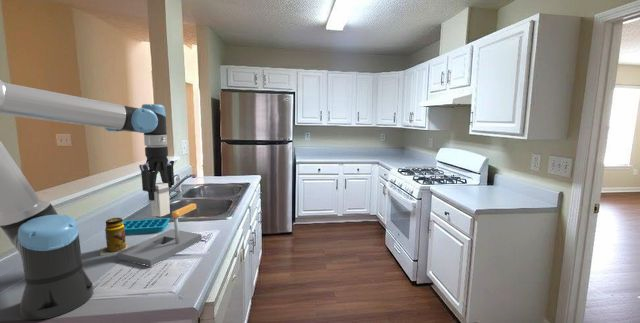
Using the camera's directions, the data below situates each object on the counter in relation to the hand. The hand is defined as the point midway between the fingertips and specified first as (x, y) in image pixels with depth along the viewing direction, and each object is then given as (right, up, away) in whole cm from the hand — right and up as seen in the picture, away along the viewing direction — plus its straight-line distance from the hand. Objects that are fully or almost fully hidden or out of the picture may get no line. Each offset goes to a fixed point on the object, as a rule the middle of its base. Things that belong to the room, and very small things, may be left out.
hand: (160, 206), depth 114 cm
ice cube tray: (-19, -14, +20) cm, 31 cm away
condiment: (-18, -17, 0) cm, 24 cm away
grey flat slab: (+1, -17, 0) cm, 17 cm away
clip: (+8, -13, +5) cm, 16 cm away
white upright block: (0, -3, 0) cm, 3 cm away
